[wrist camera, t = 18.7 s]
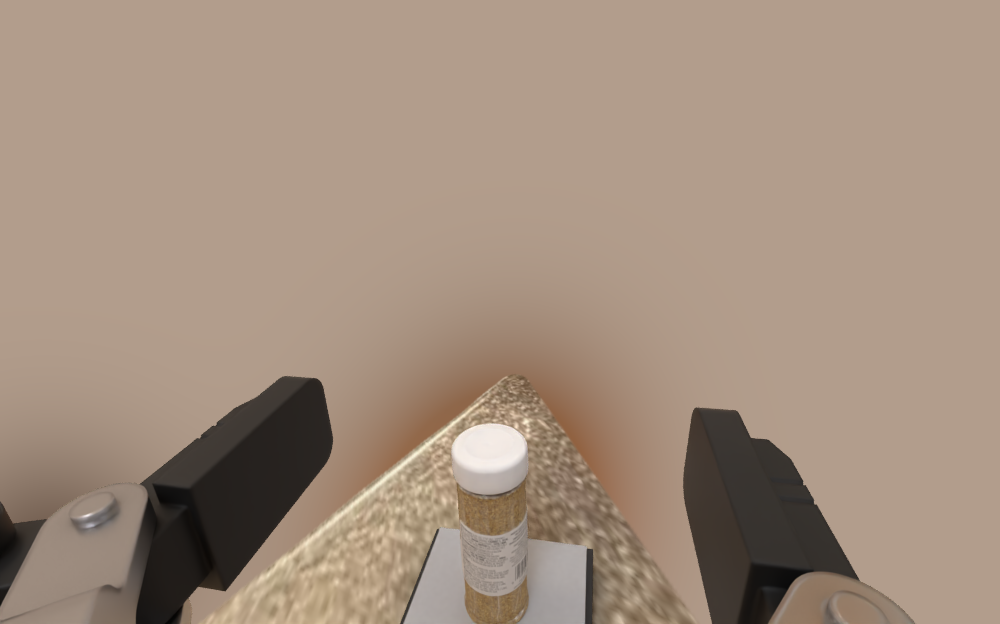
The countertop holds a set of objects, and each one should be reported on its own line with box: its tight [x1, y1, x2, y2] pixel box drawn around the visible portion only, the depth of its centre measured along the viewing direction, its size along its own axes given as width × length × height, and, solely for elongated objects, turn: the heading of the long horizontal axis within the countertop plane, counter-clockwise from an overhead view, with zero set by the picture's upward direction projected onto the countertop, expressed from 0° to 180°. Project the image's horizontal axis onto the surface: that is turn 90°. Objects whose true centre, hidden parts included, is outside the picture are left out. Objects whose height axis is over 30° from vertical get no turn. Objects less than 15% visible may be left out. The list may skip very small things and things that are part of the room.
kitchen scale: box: [400, 527, 593, 624], centre depth 34 cm, size 13×13×3 cm
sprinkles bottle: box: [451, 424, 529, 624], centre depth 31 cm, size 5×5×14 cm
